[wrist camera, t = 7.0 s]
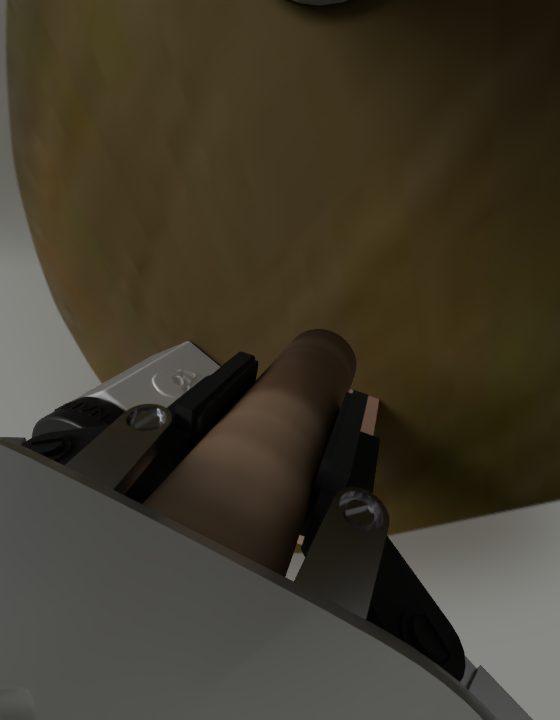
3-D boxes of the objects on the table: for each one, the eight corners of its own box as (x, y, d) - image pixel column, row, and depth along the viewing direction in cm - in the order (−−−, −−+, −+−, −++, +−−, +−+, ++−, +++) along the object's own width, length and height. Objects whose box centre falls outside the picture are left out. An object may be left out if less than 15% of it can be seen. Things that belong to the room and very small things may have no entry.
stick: (294, 320, 15) (46, 548, 5) (365, 341, 14) (252, 670, 4) (281, 380, 17) (75, 648, 6) (345, 403, 16) (226, 750, 6)
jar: (250, 387, 28) (157, 489, 17) (211, 437, 32) (118, 543, 22) (171, 322, 28) (33, 386, 18) (142, 381, 32) (18, 459, 22)
